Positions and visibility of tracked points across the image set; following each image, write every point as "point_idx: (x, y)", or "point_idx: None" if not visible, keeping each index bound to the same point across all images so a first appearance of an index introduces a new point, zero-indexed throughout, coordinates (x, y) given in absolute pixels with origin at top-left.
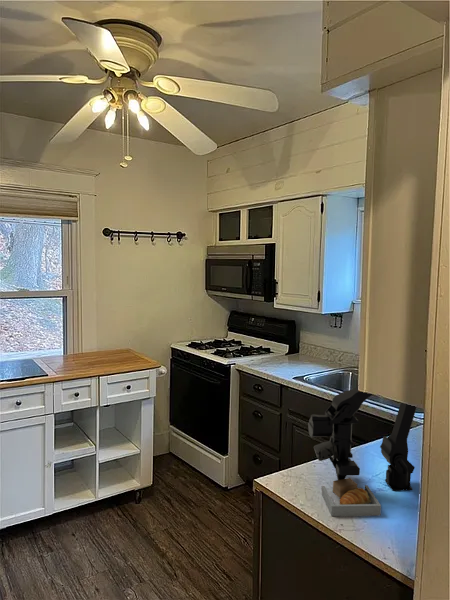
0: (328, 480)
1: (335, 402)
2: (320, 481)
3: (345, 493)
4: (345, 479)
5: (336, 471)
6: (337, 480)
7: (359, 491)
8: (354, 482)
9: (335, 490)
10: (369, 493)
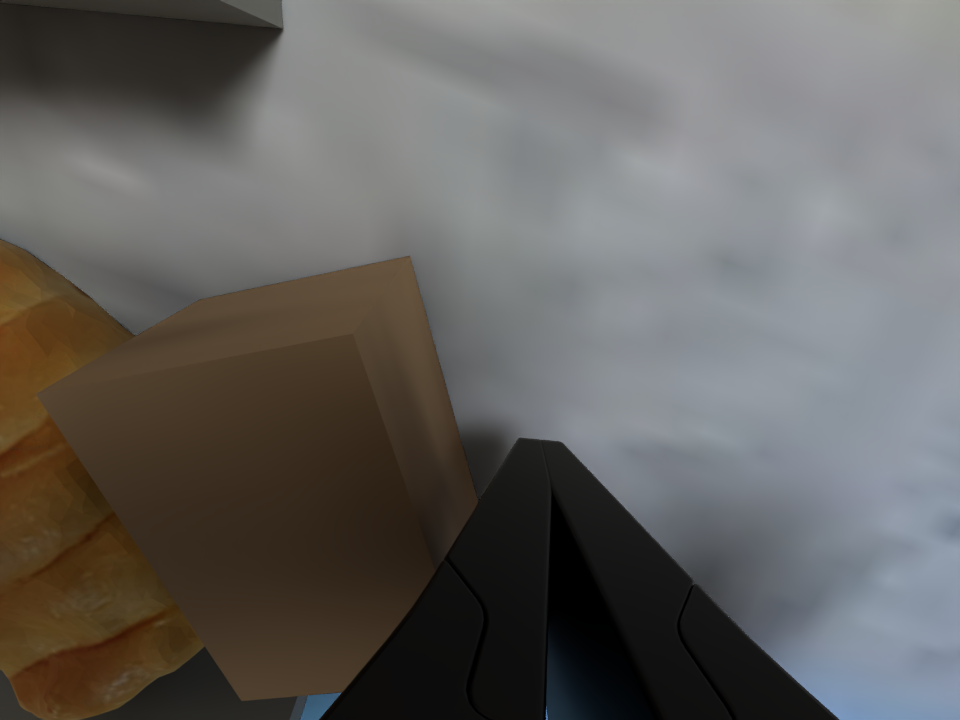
0: (808, 317)
1: None
2: (837, 144)
3: (49, 416)
4: None
5: (608, 602)
6: (378, 444)
7: (35, 644)
8: (302, 687)
9: (306, 291)
10: None
